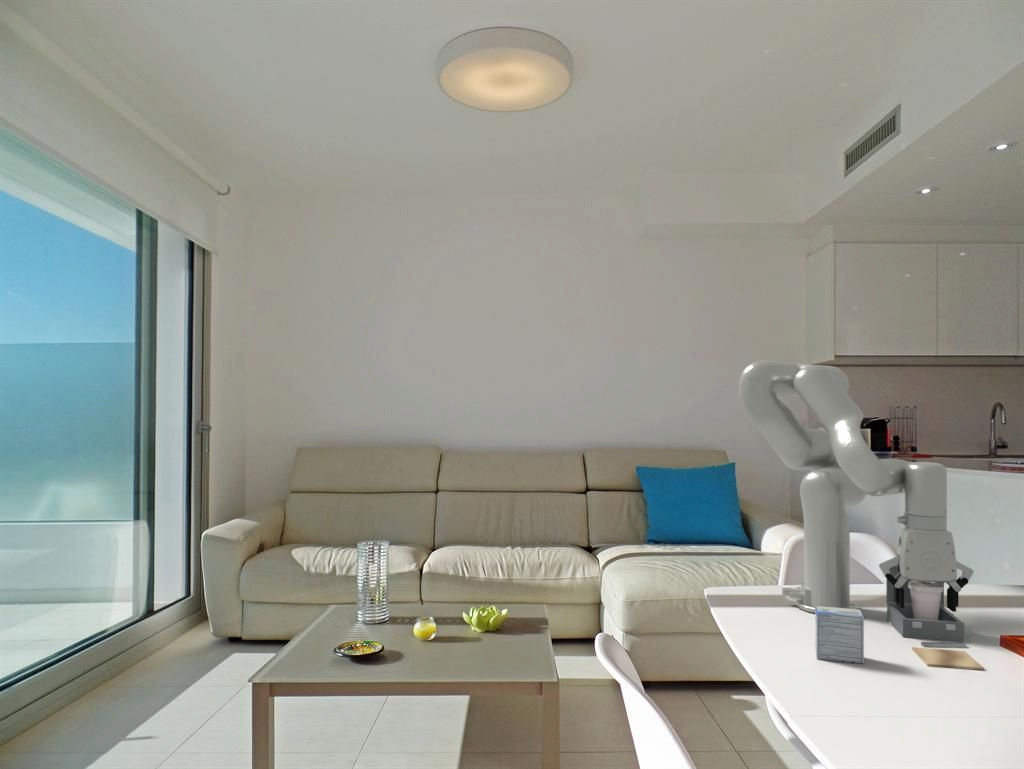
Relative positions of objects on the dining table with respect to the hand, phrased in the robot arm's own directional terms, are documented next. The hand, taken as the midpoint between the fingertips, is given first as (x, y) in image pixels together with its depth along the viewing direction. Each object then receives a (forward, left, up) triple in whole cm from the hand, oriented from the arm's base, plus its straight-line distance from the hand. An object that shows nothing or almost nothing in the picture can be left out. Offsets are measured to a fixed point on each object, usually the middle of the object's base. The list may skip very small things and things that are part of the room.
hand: (925, 608), depth 153 cm
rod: (0, -9, -5) cm, 10 cm away
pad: (-2, -17, -5) cm, 18 cm away
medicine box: (-21, -21, -5) cm, 30 cm away
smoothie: (0, 0, -5) cm, 5 cm away
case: (0, +1, -5) cm, 5 cm away
